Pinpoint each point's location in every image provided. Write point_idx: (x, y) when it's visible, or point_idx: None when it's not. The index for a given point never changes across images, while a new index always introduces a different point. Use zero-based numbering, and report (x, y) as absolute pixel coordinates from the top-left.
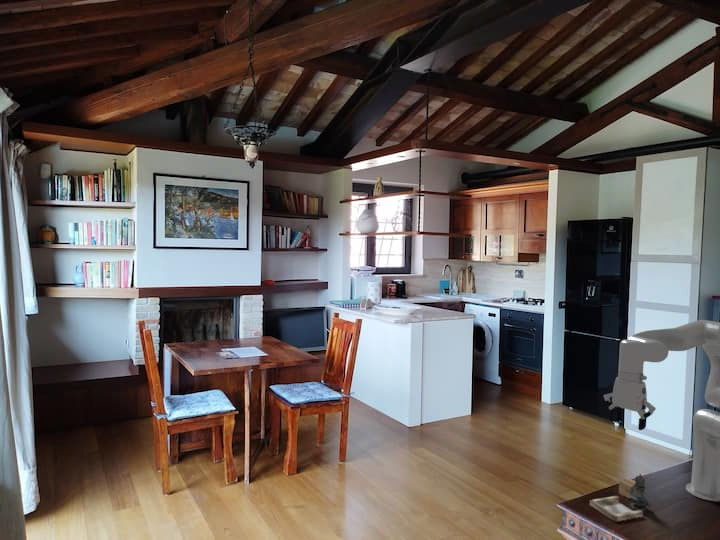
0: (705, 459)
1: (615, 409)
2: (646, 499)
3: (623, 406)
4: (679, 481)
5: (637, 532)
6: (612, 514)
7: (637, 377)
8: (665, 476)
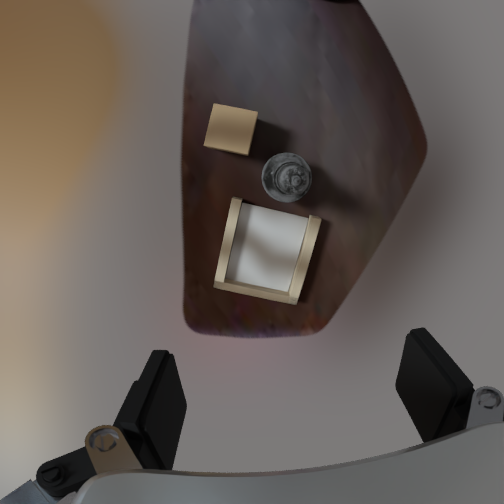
0: None
1: (145, 445)
2: (307, 172)
3: None
4: None
5: (344, 294)
6: (286, 301)
7: None
8: None
